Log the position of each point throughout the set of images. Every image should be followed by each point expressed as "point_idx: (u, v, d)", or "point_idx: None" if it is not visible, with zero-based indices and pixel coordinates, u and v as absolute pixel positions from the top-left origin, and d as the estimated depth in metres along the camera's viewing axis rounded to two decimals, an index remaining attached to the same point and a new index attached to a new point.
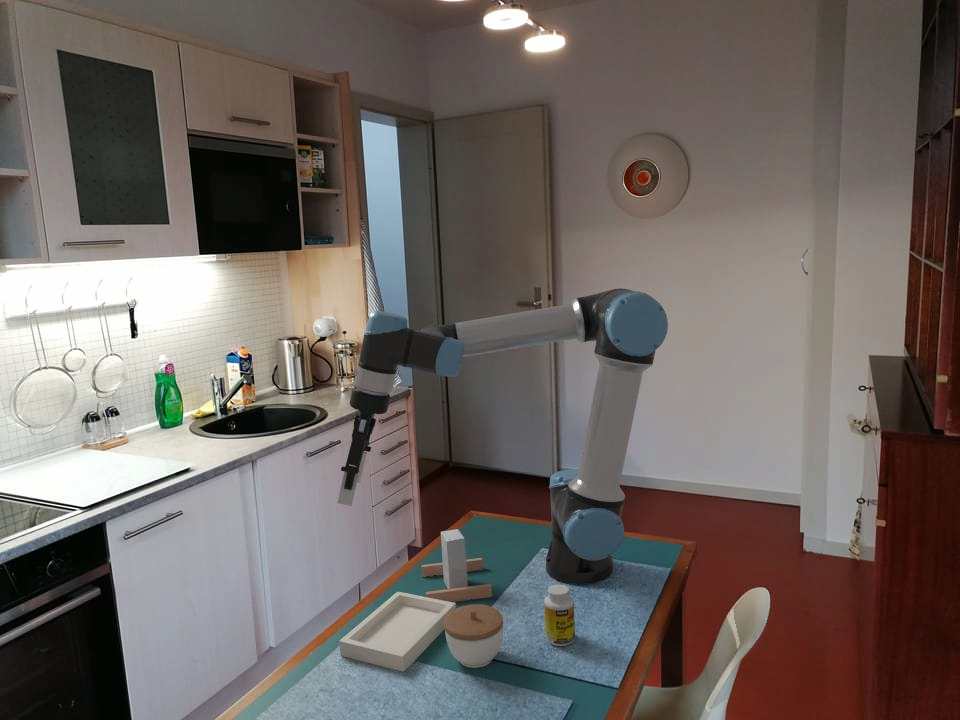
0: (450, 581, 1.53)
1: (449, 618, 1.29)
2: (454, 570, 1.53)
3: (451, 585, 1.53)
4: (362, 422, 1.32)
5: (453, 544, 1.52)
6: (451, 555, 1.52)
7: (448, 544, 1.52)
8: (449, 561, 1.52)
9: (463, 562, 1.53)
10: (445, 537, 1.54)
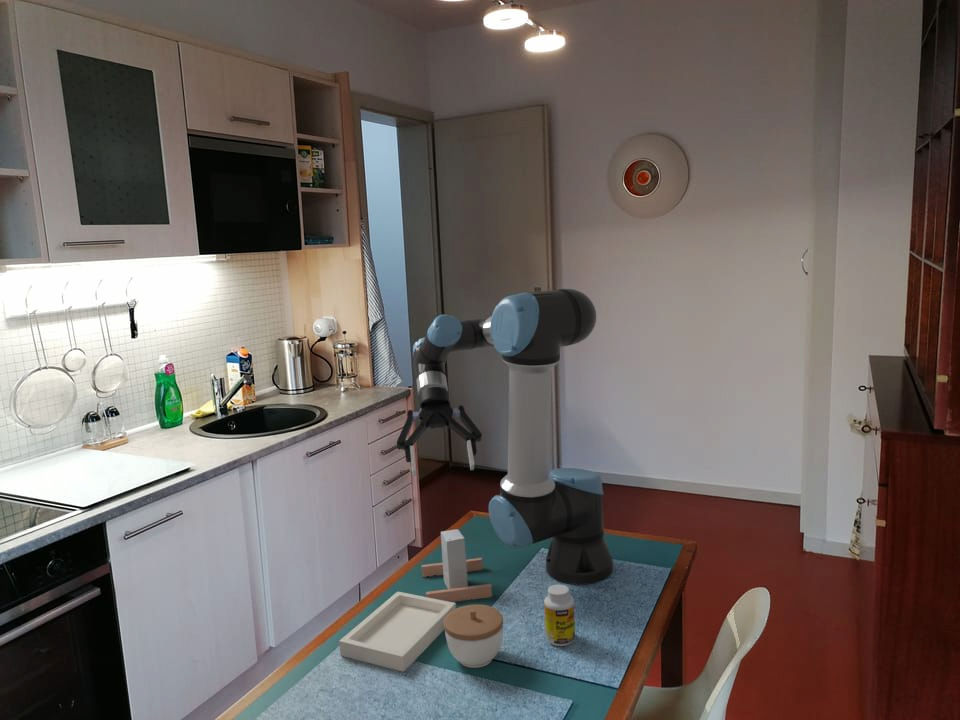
0: (450, 581, 1.53)
1: (449, 618, 1.29)
2: (454, 570, 1.53)
3: (451, 585, 1.53)
4: None
5: (453, 544, 1.52)
6: (451, 555, 1.52)
7: (448, 544, 1.52)
8: (449, 561, 1.52)
9: (463, 562, 1.53)
10: (445, 537, 1.54)
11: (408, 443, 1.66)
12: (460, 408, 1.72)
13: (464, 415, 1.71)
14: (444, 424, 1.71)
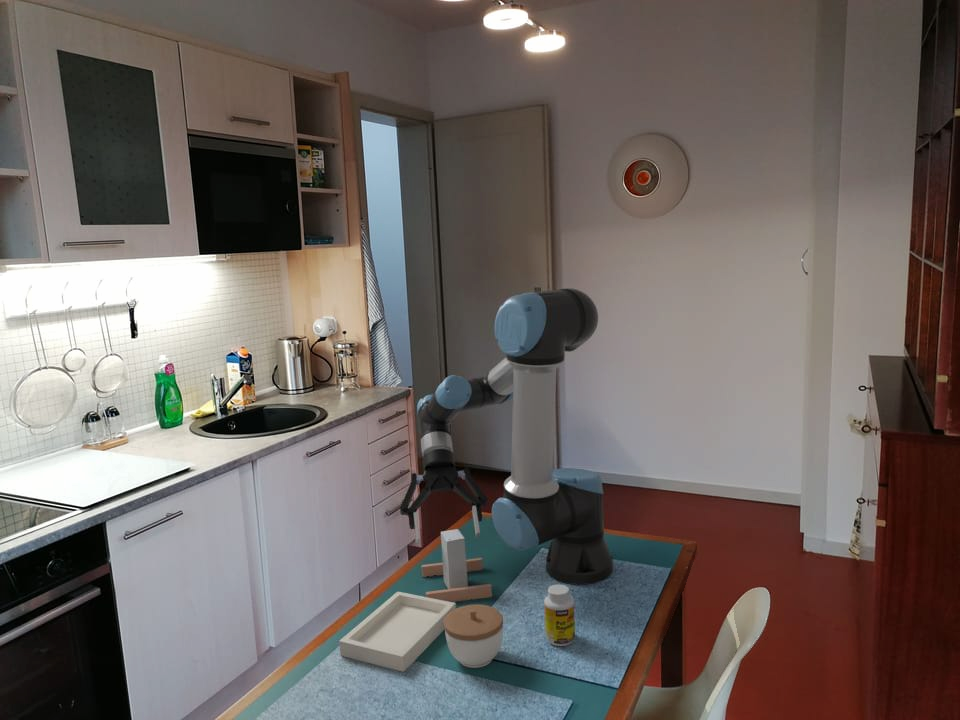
0: (450, 581, 1.53)
1: (449, 618, 1.29)
2: (454, 570, 1.53)
3: (451, 585, 1.53)
4: None
5: (453, 544, 1.52)
6: (451, 555, 1.52)
7: (448, 544, 1.52)
8: (449, 561, 1.52)
9: (463, 562, 1.53)
10: (445, 537, 1.54)
11: (412, 509, 1.61)
12: (465, 471, 1.68)
13: (469, 478, 1.67)
14: (449, 488, 1.66)
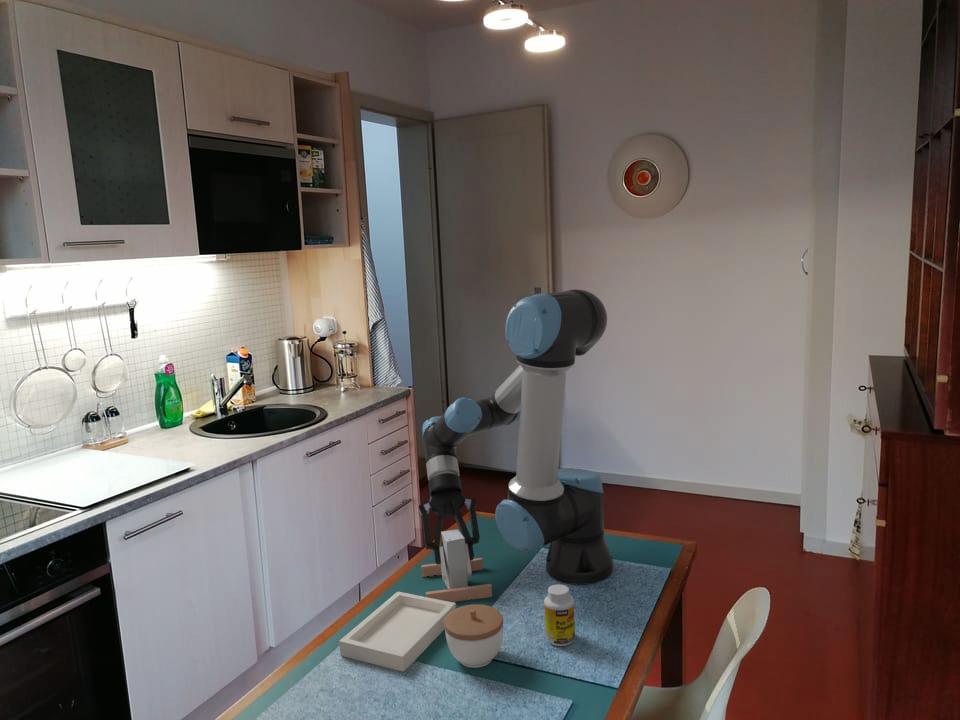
0: (450, 581, 1.53)
1: (449, 618, 1.29)
2: (454, 570, 1.53)
3: (451, 585, 1.53)
4: None
5: (453, 544, 1.52)
6: (451, 555, 1.52)
7: (448, 544, 1.52)
8: (449, 561, 1.52)
9: (463, 562, 1.53)
10: (445, 537, 1.54)
11: (437, 543, 1.55)
12: (472, 501, 1.62)
13: (472, 510, 1.60)
14: None
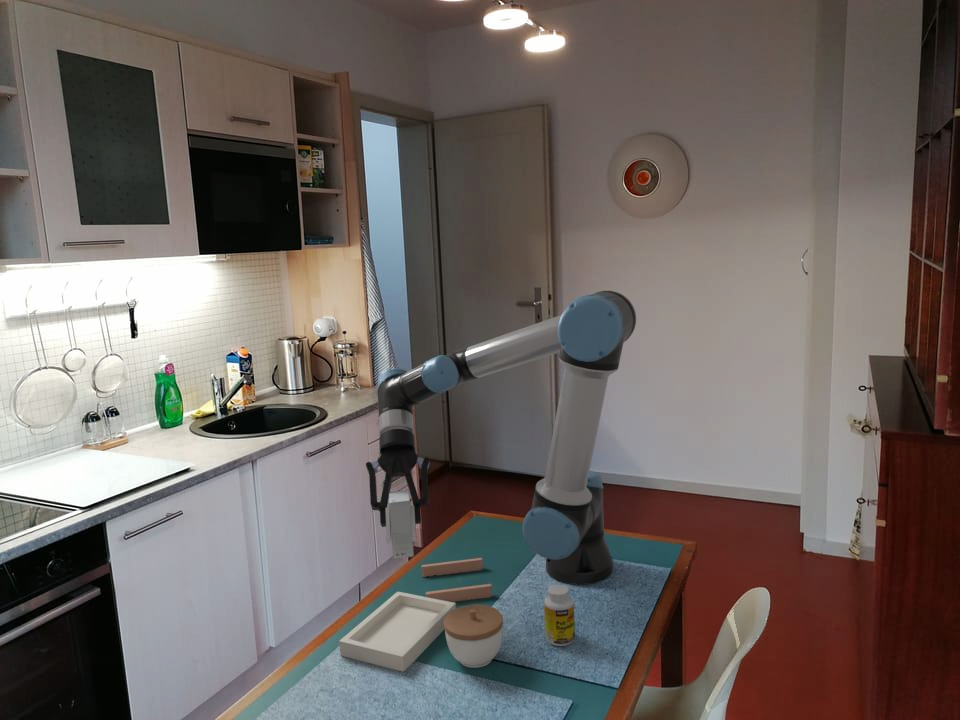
0: (393, 546, 1.41)
1: (449, 618, 1.29)
2: (397, 534, 1.40)
3: (394, 550, 1.41)
4: None
5: (397, 506, 1.39)
6: (394, 518, 1.40)
7: (391, 506, 1.39)
8: (392, 524, 1.40)
9: (408, 526, 1.40)
10: (390, 498, 1.41)
11: (383, 504, 1.42)
12: (425, 460, 1.48)
13: (424, 470, 1.47)
14: None
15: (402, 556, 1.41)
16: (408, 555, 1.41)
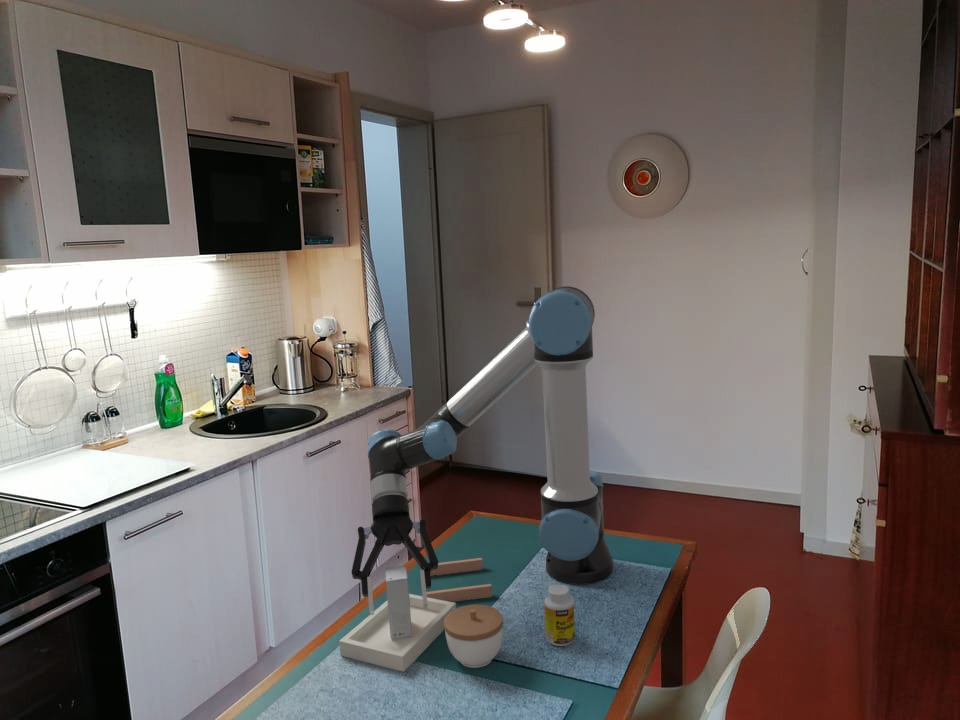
0: (391, 626, 1.35)
1: (449, 618, 1.29)
2: (395, 614, 1.34)
3: (392, 630, 1.35)
4: None
5: (394, 584, 1.34)
6: (391, 597, 1.34)
7: (388, 584, 1.33)
8: (389, 603, 1.34)
9: (405, 605, 1.34)
10: (387, 575, 1.35)
11: (365, 573, 1.36)
12: (421, 523, 1.43)
13: (423, 533, 1.42)
14: (401, 541, 1.42)
15: (400, 637, 1.35)
16: (406, 635, 1.35)
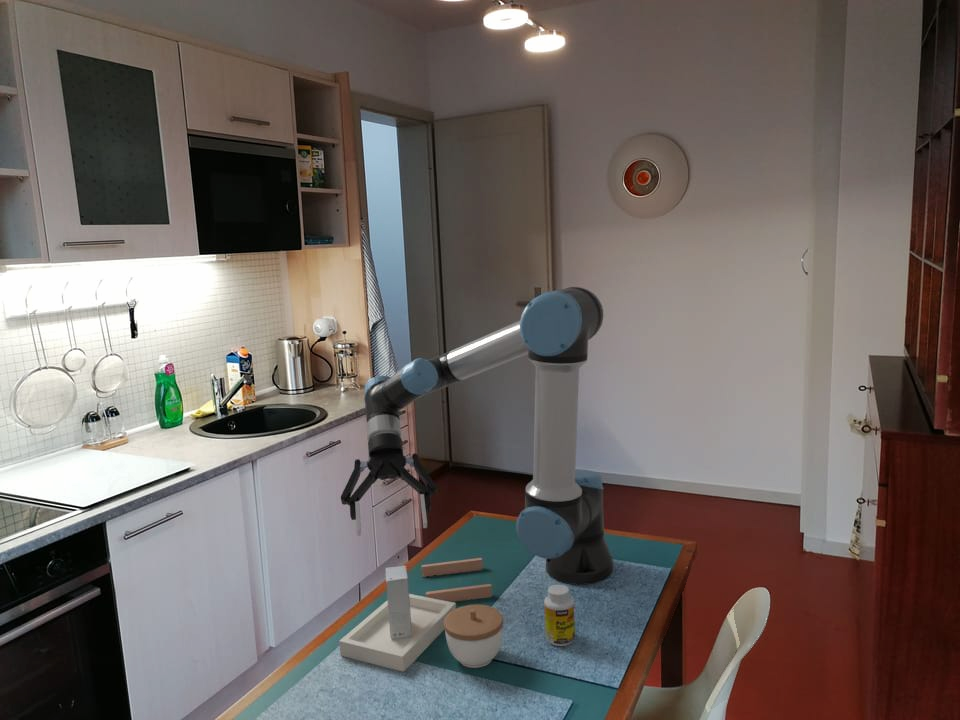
0: (391, 626, 1.35)
1: (449, 618, 1.29)
2: (395, 614, 1.34)
3: (392, 630, 1.35)
4: None
5: (394, 584, 1.34)
6: (391, 597, 1.34)
7: (388, 584, 1.33)
8: (389, 603, 1.34)
9: (406, 605, 1.34)
10: (387, 575, 1.35)
11: (353, 498, 1.48)
12: (414, 457, 1.54)
13: (418, 465, 1.53)
14: (395, 475, 1.53)
15: (400, 637, 1.35)
16: (406, 635, 1.35)
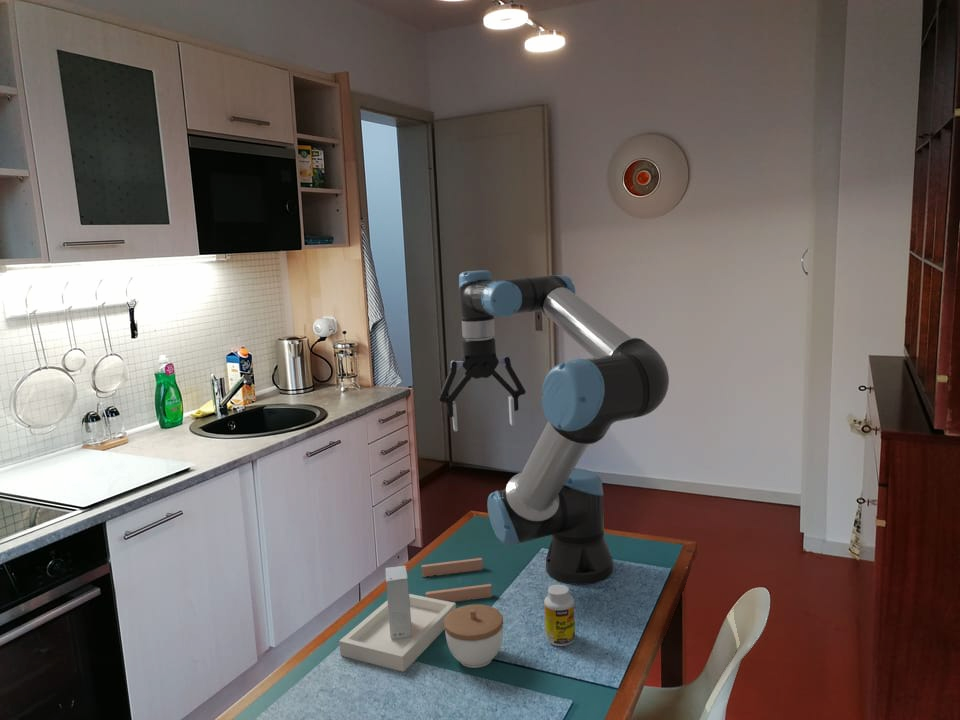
0: (391, 626, 1.35)
1: (449, 618, 1.29)
2: (395, 614, 1.34)
3: (392, 630, 1.35)
4: (451, 361, 1.63)
5: (394, 584, 1.34)
6: (391, 597, 1.34)
7: (388, 584, 1.33)
8: (389, 603, 1.34)
9: (406, 605, 1.34)
10: (387, 575, 1.35)
11: (451, 401, 1.63)
12: (506, 361, 1.64)
13: (510, 369, 1.64)
14: None
15: (400, 637, 1.35)
16: (406, 635, 1.35)
